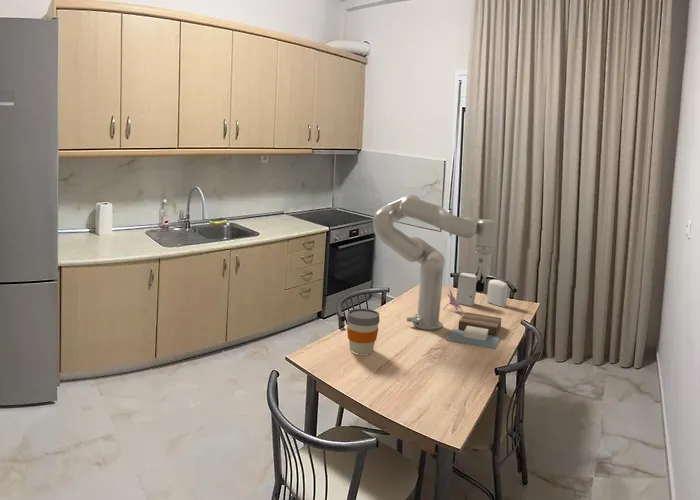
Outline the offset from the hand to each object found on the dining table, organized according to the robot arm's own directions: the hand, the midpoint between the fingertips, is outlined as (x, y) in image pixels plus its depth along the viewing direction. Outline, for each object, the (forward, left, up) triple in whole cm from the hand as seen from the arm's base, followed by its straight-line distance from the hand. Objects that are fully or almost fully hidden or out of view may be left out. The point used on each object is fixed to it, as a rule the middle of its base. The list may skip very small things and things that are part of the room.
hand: (479, 291), depth 256 cm
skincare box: (+15, +37, -18) cm, 44 cm away
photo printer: (+30, +33, -18) cm, 48 cm away
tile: (-3, -6, -18) cm, 19 cm away
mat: (-6, -8, -18) cm, 21 cm away
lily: (+3, +28, -18) cm, 33 cm away
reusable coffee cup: (-56, -10, -18) cm, 60 cm away
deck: (+4, +3, -18) cm, 19 cm away
